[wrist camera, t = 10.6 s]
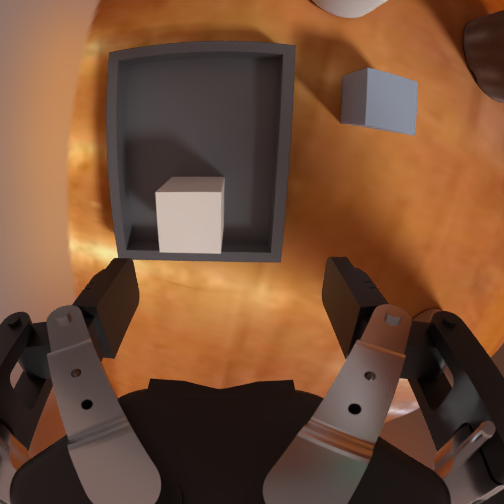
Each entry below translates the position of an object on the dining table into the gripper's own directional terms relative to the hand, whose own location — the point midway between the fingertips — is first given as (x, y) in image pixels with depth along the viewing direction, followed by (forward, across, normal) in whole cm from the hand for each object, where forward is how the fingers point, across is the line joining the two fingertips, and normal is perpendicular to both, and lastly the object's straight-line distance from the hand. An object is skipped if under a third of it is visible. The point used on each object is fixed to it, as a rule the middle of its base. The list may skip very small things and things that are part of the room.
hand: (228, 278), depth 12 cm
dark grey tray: (+18, +3, -4) cm, 18 cm away
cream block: (+17, +3, +1) cm, 17 cm away
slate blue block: (+18, -13, -9) cm, 24 cm away
